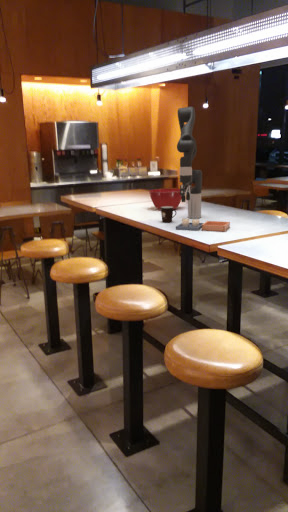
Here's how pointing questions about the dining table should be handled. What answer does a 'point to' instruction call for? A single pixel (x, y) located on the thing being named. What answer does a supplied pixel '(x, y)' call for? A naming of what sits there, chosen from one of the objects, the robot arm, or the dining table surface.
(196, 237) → the dining table surface
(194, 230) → the parts tray
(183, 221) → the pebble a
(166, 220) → the coffee mug
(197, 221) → the pebble
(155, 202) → the mixing bowl
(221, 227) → the wooden tray
